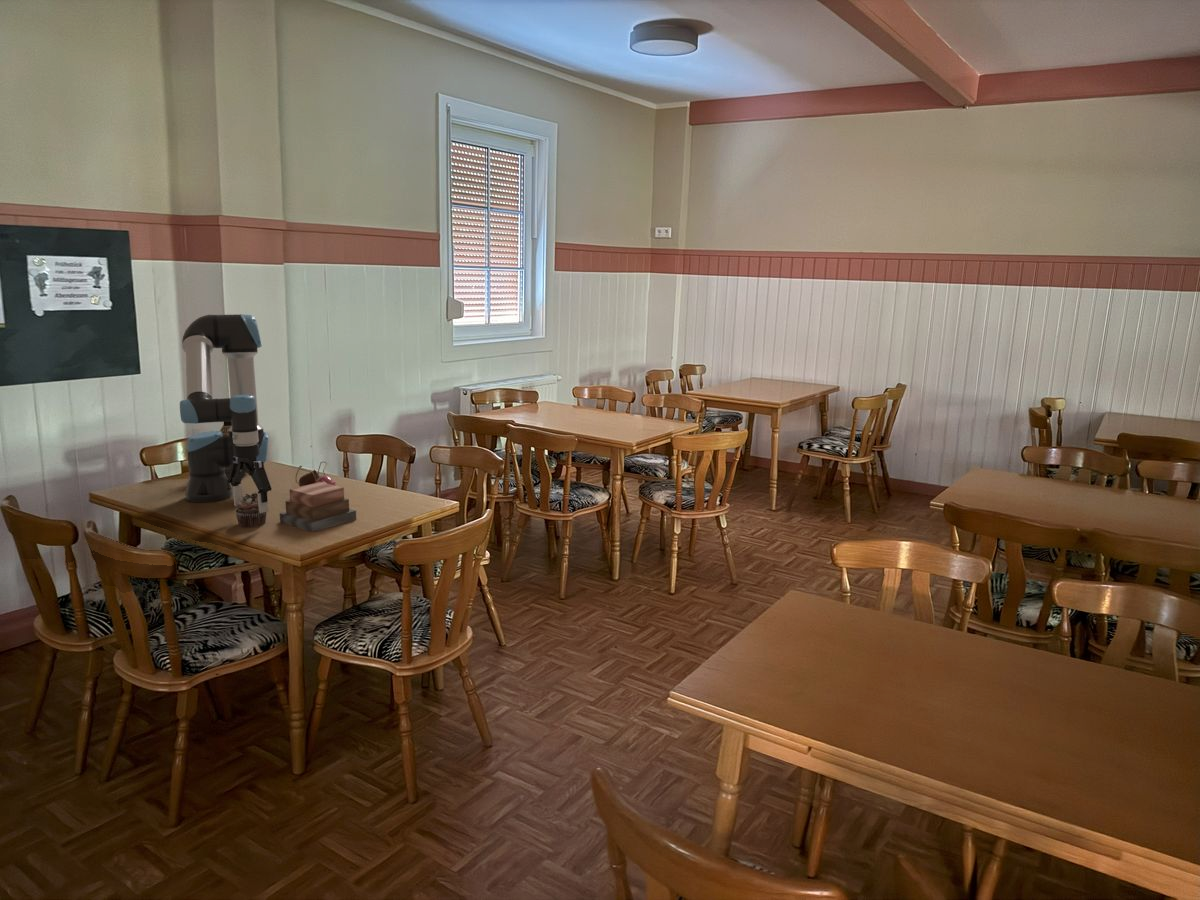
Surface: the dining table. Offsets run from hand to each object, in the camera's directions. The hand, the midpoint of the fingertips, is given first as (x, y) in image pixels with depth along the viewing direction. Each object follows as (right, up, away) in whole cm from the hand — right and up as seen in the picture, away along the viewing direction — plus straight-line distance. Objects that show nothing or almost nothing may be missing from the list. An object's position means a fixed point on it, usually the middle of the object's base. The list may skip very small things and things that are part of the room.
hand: (251, 508), depth 265 cm
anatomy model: (+11, +2, +33) cm, 35 cm away
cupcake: (0, -5, +2) cm, 5 cm away
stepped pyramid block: (+20, -4, +6) cm, 21 cm away
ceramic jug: (-32, +9, +62) cm, 71 cm away
